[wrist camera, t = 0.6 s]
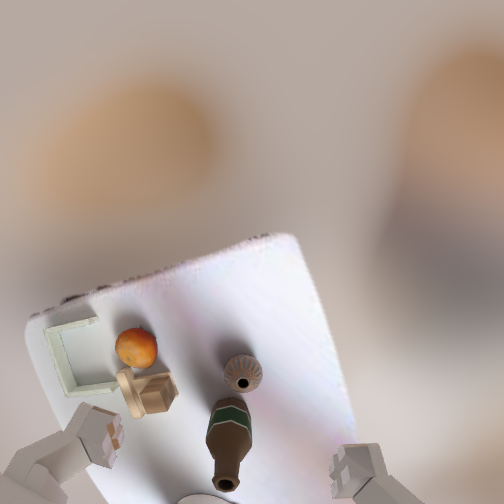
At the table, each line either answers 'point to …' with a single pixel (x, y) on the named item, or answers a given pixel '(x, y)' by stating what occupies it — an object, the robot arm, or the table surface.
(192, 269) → the table surface
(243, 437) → the beer bottle
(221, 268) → the table surface
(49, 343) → the tray
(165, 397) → the angled wooden block structure
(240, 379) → the vase
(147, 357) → the fruit
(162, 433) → the table surface
